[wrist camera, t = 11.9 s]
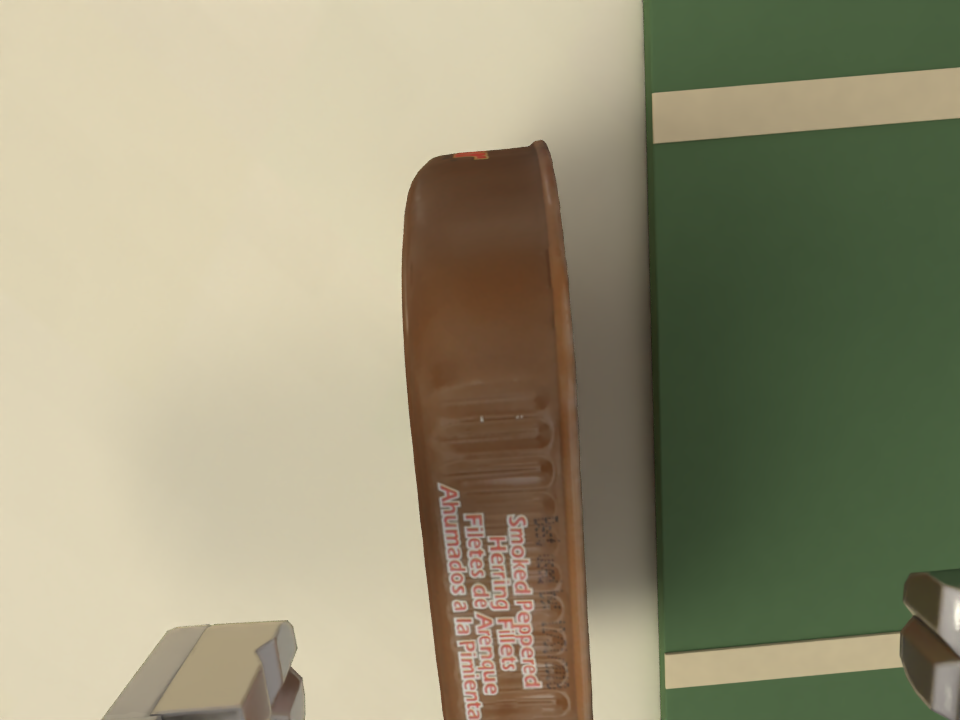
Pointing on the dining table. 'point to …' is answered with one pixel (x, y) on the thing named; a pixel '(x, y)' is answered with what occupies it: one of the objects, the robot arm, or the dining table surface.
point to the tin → (497, 435)
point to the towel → (801, 346)
